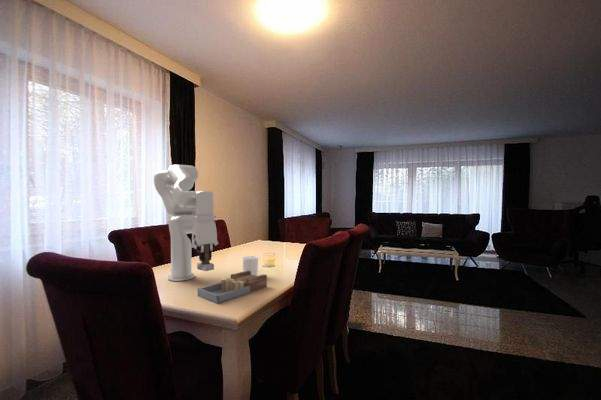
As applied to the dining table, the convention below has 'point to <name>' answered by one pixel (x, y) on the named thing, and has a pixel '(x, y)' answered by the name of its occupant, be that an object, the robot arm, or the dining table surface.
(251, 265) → the white cup
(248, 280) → the slot block
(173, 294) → the dining table surface
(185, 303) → the dining table surface
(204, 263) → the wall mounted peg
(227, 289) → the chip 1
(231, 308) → the dining table surface
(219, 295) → the tray
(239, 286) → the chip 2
